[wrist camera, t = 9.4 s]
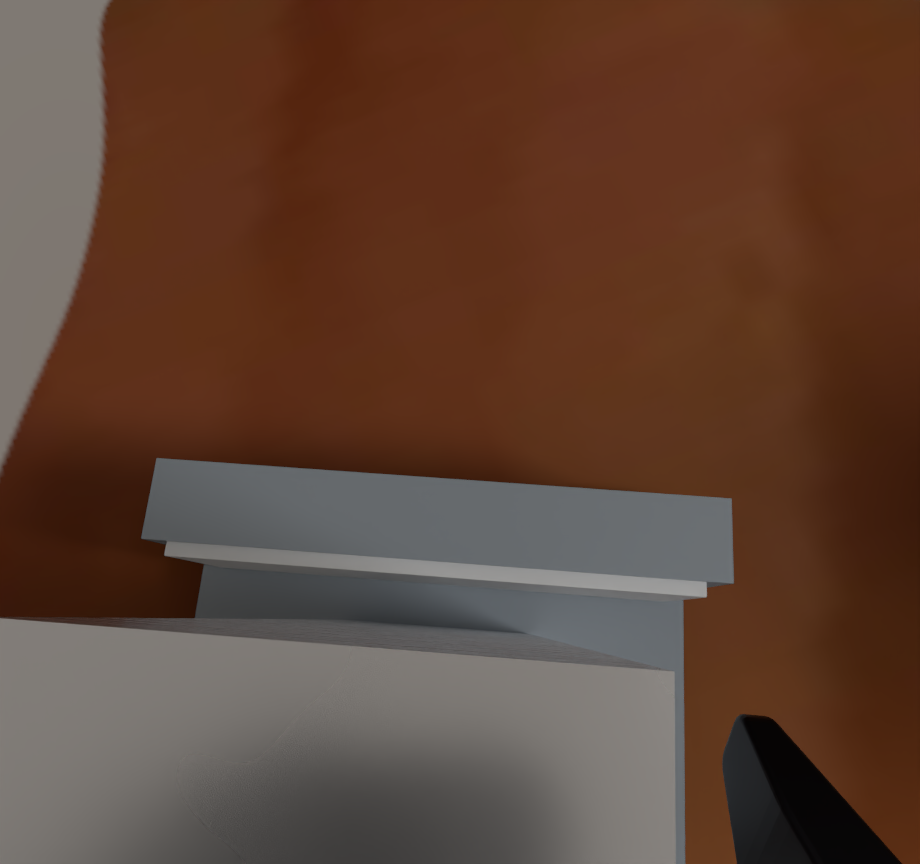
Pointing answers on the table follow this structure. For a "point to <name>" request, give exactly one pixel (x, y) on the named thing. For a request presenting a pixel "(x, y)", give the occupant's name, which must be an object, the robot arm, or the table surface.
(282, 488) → the vise
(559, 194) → the table surface
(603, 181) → the table surface
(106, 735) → the aluminium bar
